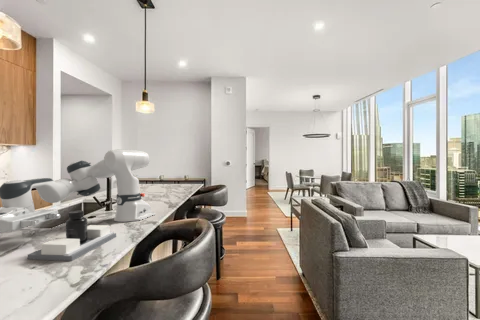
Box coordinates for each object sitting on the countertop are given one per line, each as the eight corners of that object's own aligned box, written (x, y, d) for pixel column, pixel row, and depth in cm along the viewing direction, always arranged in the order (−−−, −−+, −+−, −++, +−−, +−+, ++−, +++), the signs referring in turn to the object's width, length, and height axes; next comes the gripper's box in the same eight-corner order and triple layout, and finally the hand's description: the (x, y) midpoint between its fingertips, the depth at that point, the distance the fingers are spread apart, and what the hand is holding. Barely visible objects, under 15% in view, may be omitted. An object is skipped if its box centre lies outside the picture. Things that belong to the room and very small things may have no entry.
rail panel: (81, 235, 103) (81, 224, 103) (116, 236, 102) (116, 225, 102) (27, 259, 79) (27, 244, 79) (71, 260, 78) (71, 245, 78)
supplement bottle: (78, 238, 95) (78, 209, 95) (91, 240, 93) (91, 210, 93) (61, 244, 88) (61, 213, 88) (75, 246, 86) (74, 214, 86)
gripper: (40, 219, 103) (70, 220, 102) (-14, 235, 83) (22, 236, 82) (40, 205, 103) (70, 206, 102) (-14, 217, 83) (22, 218, 82)
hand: (48, 219), depth 92 cm, fingers open, 8 cm apart
